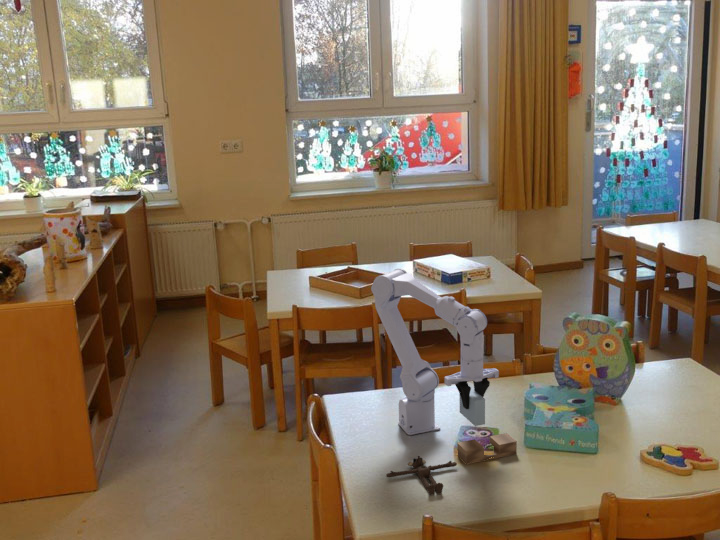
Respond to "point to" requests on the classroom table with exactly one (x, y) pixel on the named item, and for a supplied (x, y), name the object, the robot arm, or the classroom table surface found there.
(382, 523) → the classroom table surface
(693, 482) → the classroom table surface
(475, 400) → the pale grey-blue block
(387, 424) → the classroom table surface
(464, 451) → the brown u-shaped block
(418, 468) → the brown monkey toy
